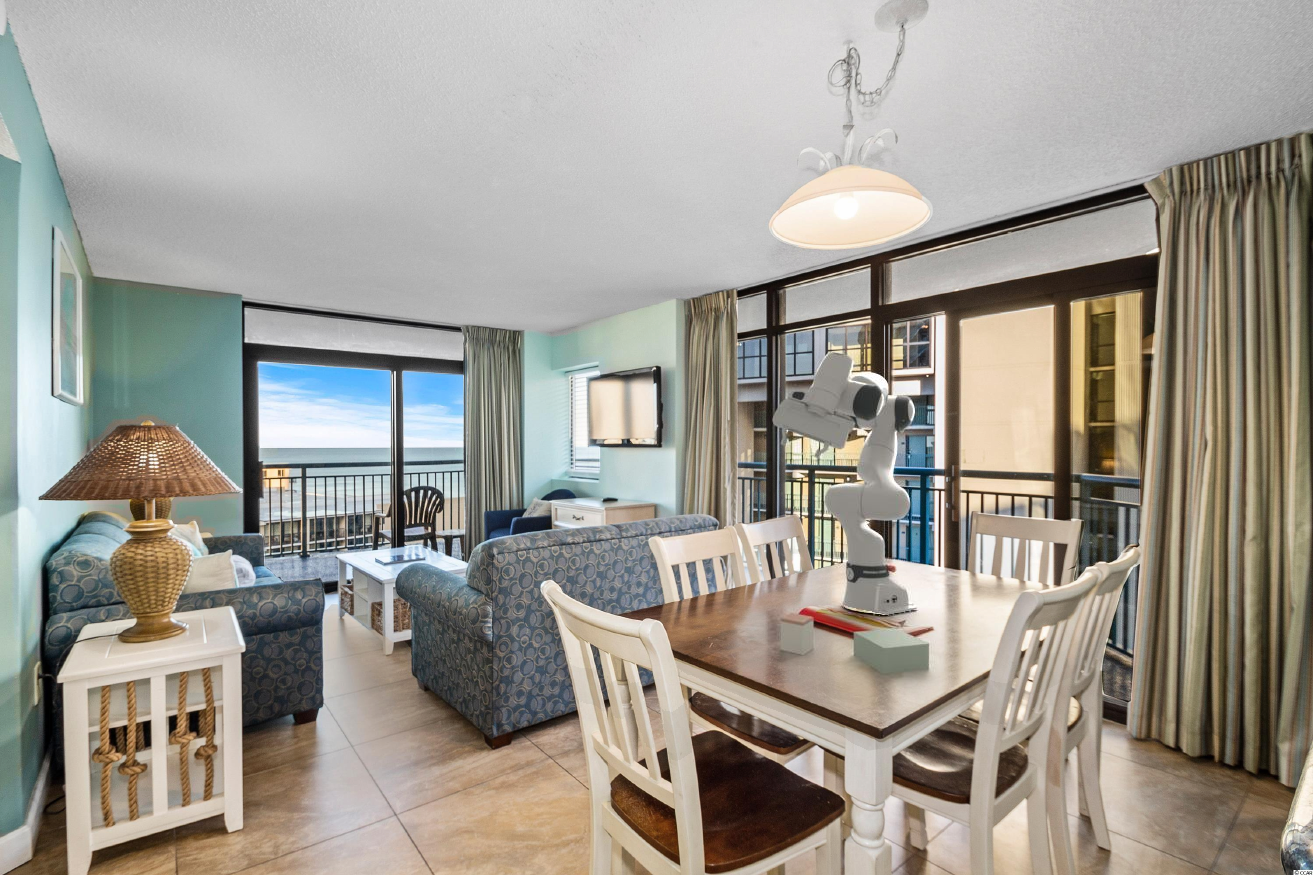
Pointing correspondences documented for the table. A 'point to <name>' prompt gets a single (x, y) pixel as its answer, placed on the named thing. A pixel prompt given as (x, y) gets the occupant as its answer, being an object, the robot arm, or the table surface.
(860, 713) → the table surface
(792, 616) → the white brown-topped block
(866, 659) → the green box
